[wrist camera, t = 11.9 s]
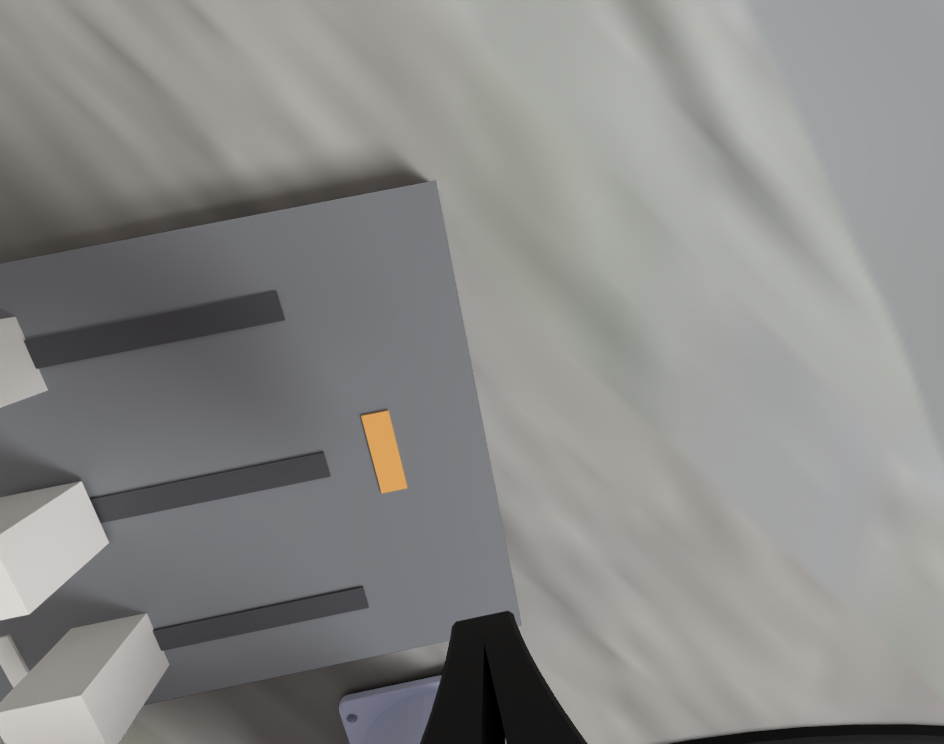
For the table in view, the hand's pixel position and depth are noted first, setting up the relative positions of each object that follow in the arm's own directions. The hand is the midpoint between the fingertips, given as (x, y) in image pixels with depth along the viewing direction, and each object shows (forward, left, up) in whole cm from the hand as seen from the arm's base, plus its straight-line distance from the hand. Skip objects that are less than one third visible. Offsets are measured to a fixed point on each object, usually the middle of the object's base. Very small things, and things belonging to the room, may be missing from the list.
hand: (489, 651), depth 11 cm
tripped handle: (+2, +15, -8) cm, 17 cm away
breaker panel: (+2, +11, -9) cm, 15 cm away
